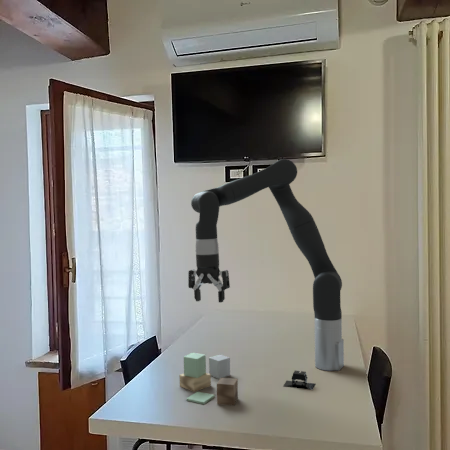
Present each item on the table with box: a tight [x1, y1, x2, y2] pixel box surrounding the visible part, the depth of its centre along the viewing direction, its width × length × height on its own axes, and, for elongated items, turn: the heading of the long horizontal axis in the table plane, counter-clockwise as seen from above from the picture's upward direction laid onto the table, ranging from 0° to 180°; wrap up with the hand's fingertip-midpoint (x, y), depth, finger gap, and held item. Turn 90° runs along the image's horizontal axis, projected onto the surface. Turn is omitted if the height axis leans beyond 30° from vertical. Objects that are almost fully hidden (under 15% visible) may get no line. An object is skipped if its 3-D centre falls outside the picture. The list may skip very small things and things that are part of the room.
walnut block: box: [216, 377, 239, 406], centre depth 143 cm, size 5×5×6 cm
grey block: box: [208, 354, 231, 380], centre depth 165 cm, size 5×5×6 cm
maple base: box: [179, 372, 212, 393], centre depth 156 cm, size 7×7×4 cm
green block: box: [183, 352, 207, 378], centre depth 155 cm, size 5×5×6 cm
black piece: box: [282, 370, 317, 391], centre depth 155 cm, size 12×7×5 cm, turn 70°
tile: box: [186, 391, 215, 405], centre depth 145 cm, size 6×6×1 cm
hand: (209, 301), depth 162 cm, fingers open, 8 cm apart
